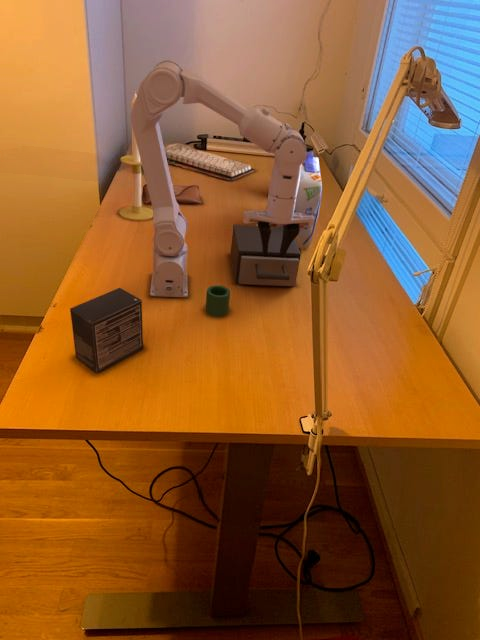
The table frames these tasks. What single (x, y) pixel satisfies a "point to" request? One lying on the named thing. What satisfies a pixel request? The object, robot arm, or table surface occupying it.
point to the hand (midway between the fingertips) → (273, 255)
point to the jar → (217, 300)
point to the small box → (107, 329)
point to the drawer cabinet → (256, 245)
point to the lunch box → (308, 198)
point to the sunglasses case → (179, 194)
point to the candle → (135, 183)
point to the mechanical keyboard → (205, 162)
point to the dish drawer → (268, 270)
